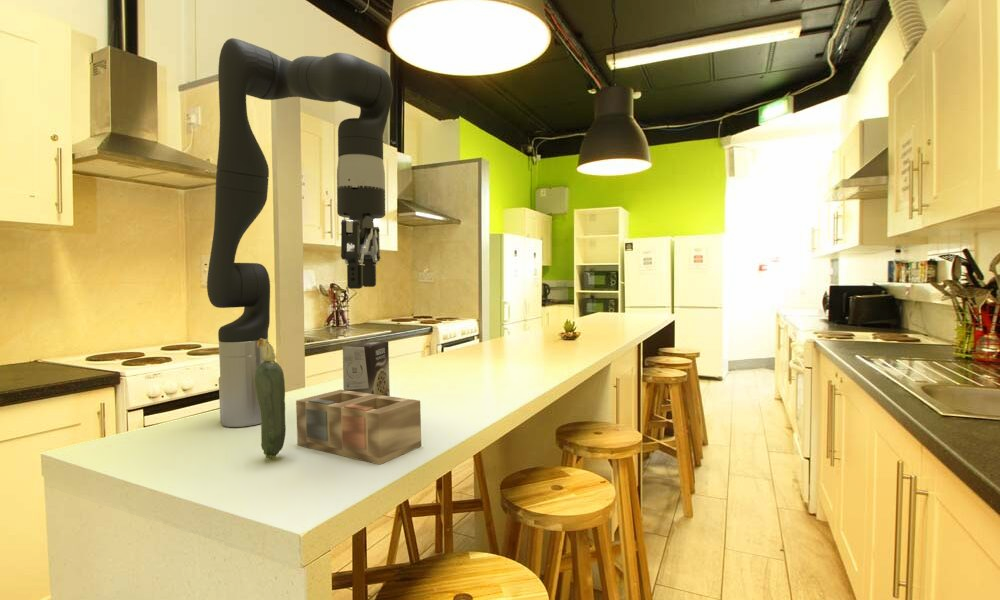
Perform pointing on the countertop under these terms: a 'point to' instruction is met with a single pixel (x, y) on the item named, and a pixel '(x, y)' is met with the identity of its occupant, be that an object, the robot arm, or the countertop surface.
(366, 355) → the coffee box
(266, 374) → the vegetable
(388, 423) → the holder
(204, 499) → the countertop surface
